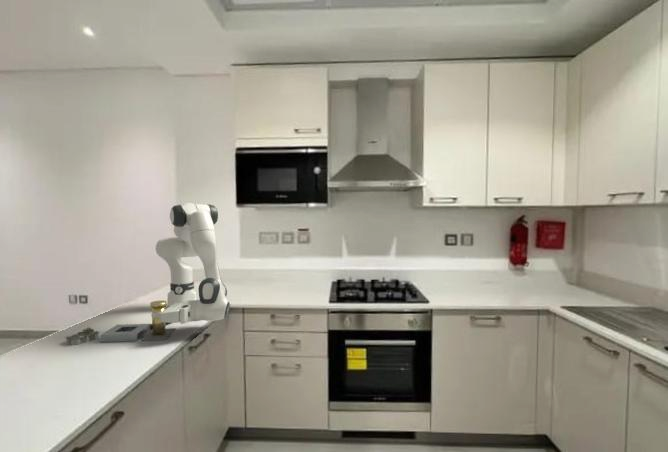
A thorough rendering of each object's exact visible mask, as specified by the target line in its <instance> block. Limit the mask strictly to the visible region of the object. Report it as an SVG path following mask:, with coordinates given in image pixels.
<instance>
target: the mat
mask: <svg viewBox="0 0 668 452" xmlns="http://www.w3.org/2000/svg"><path fill="white" fill-rule="evenodd" d="M174 331H176V328H175V327H174V328H172V327H171V328H165V334H163V335H159V336H154V335H152V330H151V331H149V332H148V333H147V334H146V335H144V336H143V337H142V338H141V339H140V342H152V341H155V342H156V341H165V340H167V338H168V337H169V336H170V335H171V334H173V333H174Z"/></svg>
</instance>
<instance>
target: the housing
mask: <svg viewBox="0 0 668 452" xmlns="http://www.w3.org/2000/svg"><path fill="white" fill-rule="evenodd" d="M151 324H152V323H135V324H133V323H129V324H128V323H127V324H126V323H125V324H116V325H114V326H113V327H111V328H110V329H108V330H107V331H104V332H103V333H102V334H100V336H99V337H100V343H122V342H123V343H124V342H126V343H127V342H138V341H139V340H141V339H142V338H144V337H145V336H146V335H147V334H149V333H150V332H151V331H152V329H151Z"/></svg>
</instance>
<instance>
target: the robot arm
mask: <svg viewBox="0 0 668 452" xmlns="http://www.w3.org/2000/svg"><path fill="white" fill-rule="evenodd" d="M169 219H170V222H171V225H173V226H174V228H173V233H174V235H175V237H165V238H161V239H160V238H159V240H158V241H157V242H156V244H155V252H156V255H158V257H160V258H161V259H162V260H164V261H165V262H166V263H167V265H168V267H169V270H170V285H169V287H170V289H169V290H170V291H169V292H168V293H167V300H166V301H167V305H166V306H165V310H164V311H163V312H160V313H158V312H153V313H152V312H151V318H152V317H157V318H160V321H161V322H166V323H170V324H172V323H173V324H175V323H180V324H181V325H183V324H187V323H190V322H199V321H207V322H208V321H209V322H215V321H220V320H224V319H225V318H226V317H228V314H229V312H230V305H231V304H230V301H229V300H228V298H227V295H228V290H227V286H226V285H225V284H224V282H223V281H222V278H221V275H220V269H219V265H218V258H217V237H216V230H215V225H216V223H217V222H218V219H219V213H218V208H217V207H216V206H215V205H213V204H205V203H203V204H202V203H192V202H185V203H182V204H177V205H173V206H172V207H171V209H170V211H169ZM192 257H193V258H194V257H199V259H200V261H201V262H202V266H203V269H204V276H205V278H204V279H203V280H201V282H200V283H199V285H198V290H196V289H195V281H194V272H193V271H194V269H193V267H192V266H191V264H188V263H186V262H182V258H192ZM197 291H198V292H197Z"/></svg>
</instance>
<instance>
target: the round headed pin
mask: <svg viewBox="0 0 668 452" xmlns="http://www.w3.org/2000/svg"><path fill="white" fill-rule="evenodd" d="M149 305H150V307H149V308H151V314H152V313H153V312H158V313H160V312H163V311H164V310H165V306H167V300H155V301H151V302H150V304H149ZM151 320H152V321H151V322H152V323H151V324H152V329H151V331H152V335H154V336H159V335H163V334H165V329H166V326H165V322H161V321H160V318H157V317H152V316H151Z"/></svg>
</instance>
